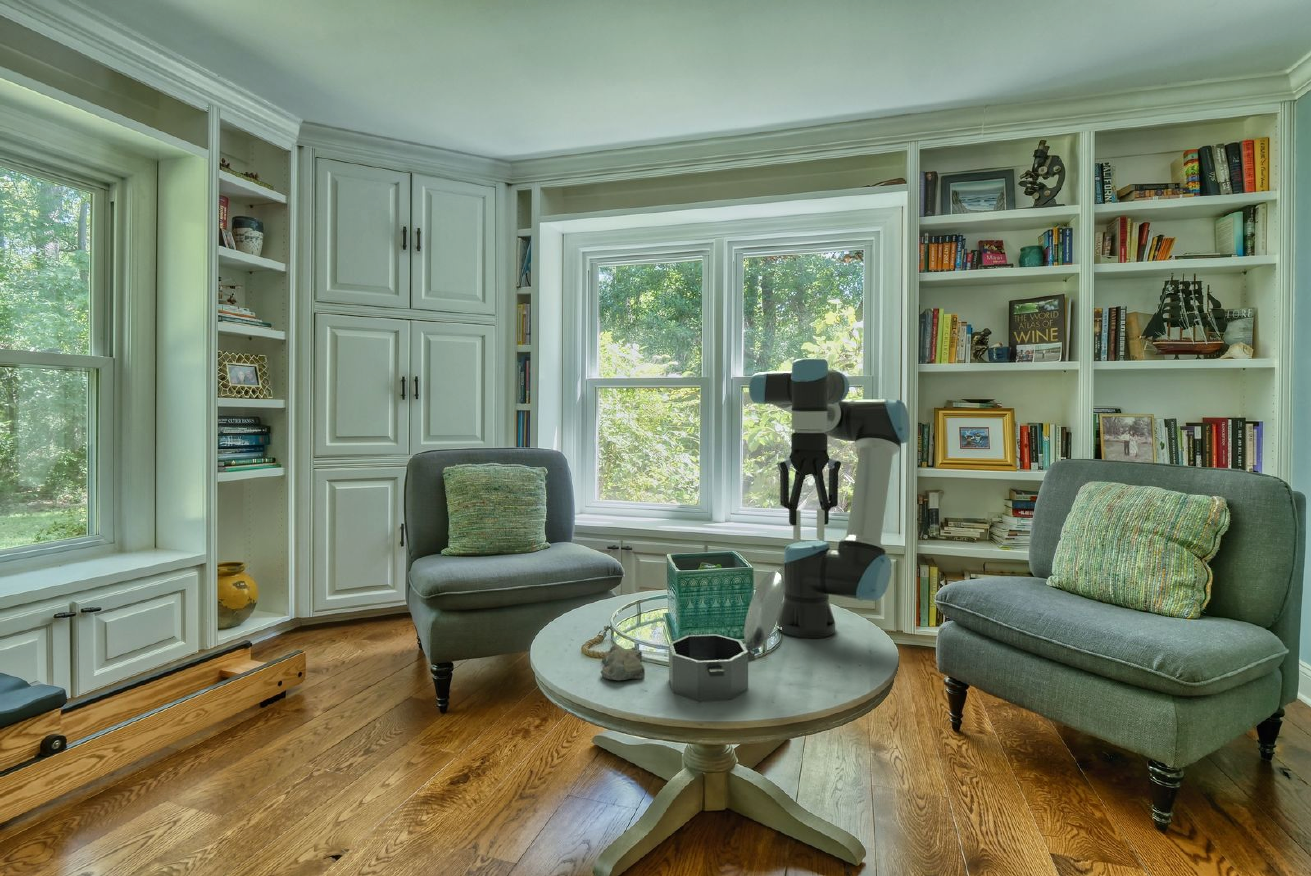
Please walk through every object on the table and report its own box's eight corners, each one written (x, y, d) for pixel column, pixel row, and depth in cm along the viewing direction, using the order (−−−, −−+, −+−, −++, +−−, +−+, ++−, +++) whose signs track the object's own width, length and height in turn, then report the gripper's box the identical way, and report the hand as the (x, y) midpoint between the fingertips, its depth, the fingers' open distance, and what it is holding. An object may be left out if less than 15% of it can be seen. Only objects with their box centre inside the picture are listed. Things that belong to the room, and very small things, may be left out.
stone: (600, 659, 160) (600, 642, 160) (641, 658, 161) (641, 641, 161) (600, 685, 145) (600, 667, 145) (645, 684, 146) (645, 665, 146)
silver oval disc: (737, 632, 154) (745, 635, 154) (756, 660, 137) (765, 664, 137) (766, 563, 154) (774, 566, 154) (788, 583, 137) (797, 586, 137)
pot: (741, 663, 156) (741, 629, 156) (764, 703, 135) (764, 664, 135) (665, 666, 155) (665, 632, 154) (677, 707, 134) (676, 668, 133)
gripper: (842, 430, 149) (841, 535, 150) (764, 431, 147) (764, 537, 148) (856, 431, 141) (855, 542, 143) (773, 432, 140) (773, 544, 141)
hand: (808, 539), depth 146 cm, fingers open, 4 cm apart
